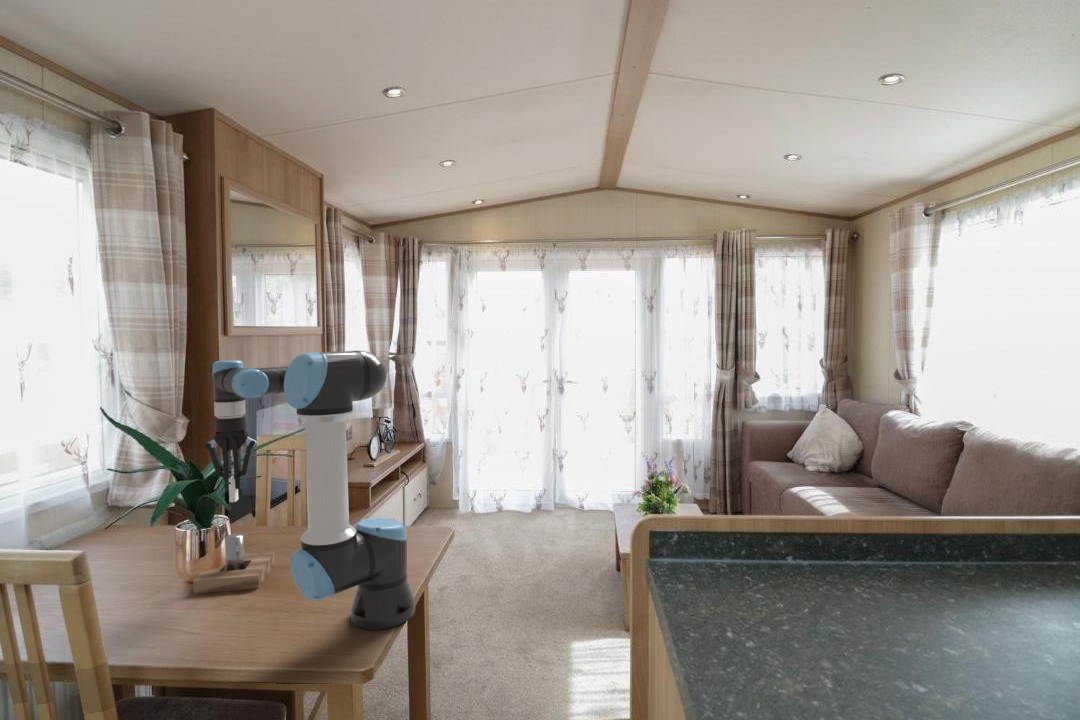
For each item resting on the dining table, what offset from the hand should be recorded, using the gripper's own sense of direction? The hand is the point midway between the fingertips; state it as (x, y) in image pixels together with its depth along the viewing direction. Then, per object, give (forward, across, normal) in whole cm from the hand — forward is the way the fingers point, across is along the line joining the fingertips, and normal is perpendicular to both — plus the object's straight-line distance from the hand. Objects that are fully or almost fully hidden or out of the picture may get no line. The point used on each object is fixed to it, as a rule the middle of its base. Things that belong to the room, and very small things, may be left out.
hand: (234, 500), depth 157 cm
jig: (+22, 0, 0) cm, 22 cm away
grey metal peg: (+22, 0, 0) cm, 22 cm away
